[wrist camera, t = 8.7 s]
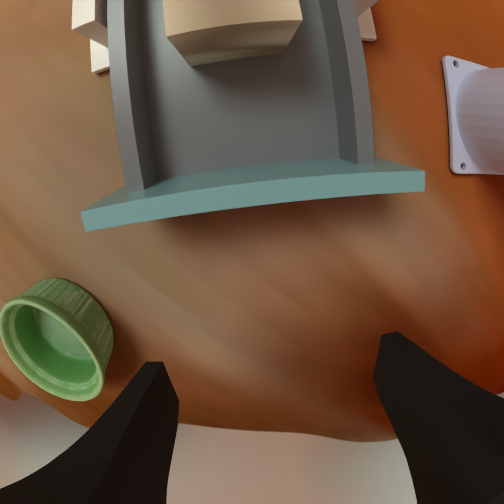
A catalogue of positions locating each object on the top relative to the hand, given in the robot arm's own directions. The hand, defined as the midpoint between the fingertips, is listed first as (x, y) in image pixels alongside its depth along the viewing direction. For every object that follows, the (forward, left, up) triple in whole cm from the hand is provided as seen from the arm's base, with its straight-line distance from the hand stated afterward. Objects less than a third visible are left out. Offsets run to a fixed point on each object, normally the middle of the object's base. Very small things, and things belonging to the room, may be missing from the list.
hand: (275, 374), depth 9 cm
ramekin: (+15, +4, -10) cm, 18 cm away
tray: (0, -12, -9) cm, 15 cm away
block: (0, -14, -8) cm, 16 cm away
